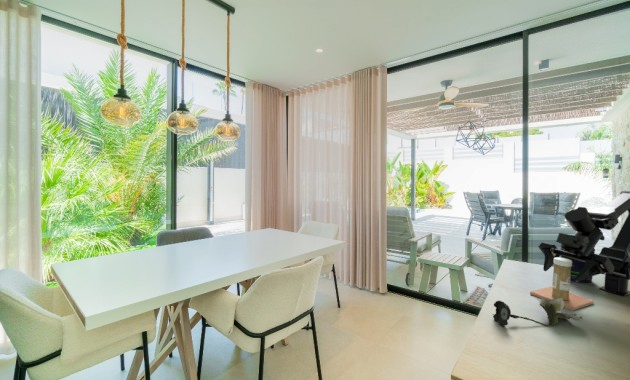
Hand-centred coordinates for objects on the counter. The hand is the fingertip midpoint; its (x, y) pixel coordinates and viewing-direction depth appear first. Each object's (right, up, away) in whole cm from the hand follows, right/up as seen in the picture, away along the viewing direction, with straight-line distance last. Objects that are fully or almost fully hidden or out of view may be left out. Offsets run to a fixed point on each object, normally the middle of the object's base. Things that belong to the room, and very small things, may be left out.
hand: (559, 275), depth 89 cm
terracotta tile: (+3, -9, +3) cm, 10 cm away
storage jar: (+25, -8, +20) cm, 33 cm away
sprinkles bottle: (+1, -8, +1) cm, 8 cm away
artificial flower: (-18, -10, -12) cm, 24 cm away
